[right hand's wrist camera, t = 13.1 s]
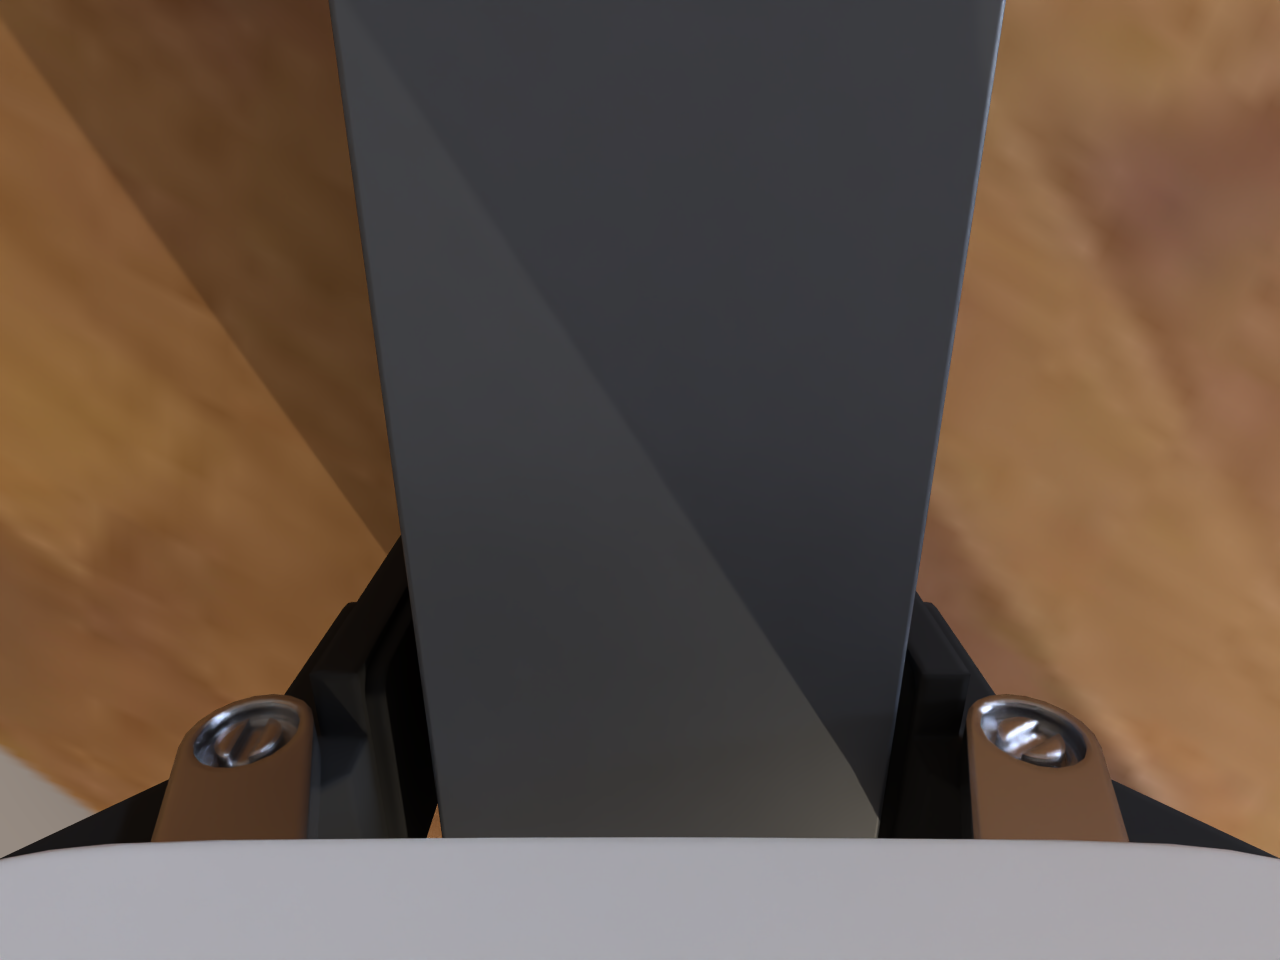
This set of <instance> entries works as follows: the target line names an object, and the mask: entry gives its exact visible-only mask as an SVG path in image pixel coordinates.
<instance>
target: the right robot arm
mask: <svg viewBox="0 0 1280 960" xmlns="http://www.w3.org/2000/svg"><path fill="white" fill-rule="evenodd" d="M437 804H438V802H437V794H436V787H435V780H434V772H433V765H432V758H431V750H430V743H429V735H428V728H427V721H426V713H425V706H424V699H423V691H422V684H421V677H420V669H419V662H418V655H417V647H416V640H415V632H414V625H413V618H412V610H411V603H410V596H409V588H408V581H407V574H406V566H405V559H404V552H403V544H402V537H401V536H400V537H399V539H398V540H397V542H396V543H395V545H394V546H393V548H392V549H391V551H390V552H389V554H388V555H387V557H386V558H385V560H384V561H383V563H382V565H381V566H380V568H379V569H378V571H377V572H376V574H375V575H374V577H373V578H372V580H371V581H370V583H369V584H368V586H367V587H366V589H365V590H364V592H363V593H362V595H361V596H360V598H359V599H358V601H357V602H351V603H348V604H347V605H346V606H345V607H344V608H343V609H342V611H341V612H340V614H339V615H338V617H337V618H336V620H335V621H334V623H333V624H332V626H331V627H330V628H329V630H328V631H327V633H326V634H325V636H324V637H323V639H322V640H321V642H320V643H319V645H318V646H317V648H316V649H315V651H314V652H313V653H312V655H311V656H310V658H309V659H308V661H307V662H306V664H305V665H304V667H303V668H302V670H301V671H300V673H299V674H298V676H297V677H296V678H295V680H294V681H293V683H292V684H291V686H290V687H289V689H288V690H287V692H286V693H285V695H277V694H270V695H261V696H253V697H250V698H246V699H243V700H239V701H235V702H233V703H230V704H228V705H226V706H224V707H222V708H219V709H217V710H215V711H213V712H212V713H210V714H209V715H207V716H206V717H204V718H203V719H201V720H200V721H198V722H197V723H196V724H195V725H194V726H193V727H192V728H191V729H190V730H189V731H188V732H187V733H186V734H185V736H184V738H183V740H182V742H181V744H180V745H179V747H178V751H177V754H176V757H175V761H174V764H173V768H172V771H171V774H170V778H169V780H166V781H164V782H162V783H160V784H158V785H156V786H154V787H152V788H149V789H147V790H145V791H143V792H141V793H139V794H137V795H135V796H132V797H130V798H128V799H126V800H124V801H122V802H120V803H117V804H115V805H113V806H111V807H109V808H107V809H105V810H103V811H100V812H98V813H96V814H94V815H92V816H90V817H88V818H86V819H83V820H81V821H79V822H77V823H75V824H73V825H71V826H68V827H66V828H64V829H62V830H60V831H58V832H56V833H54V834H51V835H49V836H47V837H45V838H43V839H41V840H39V841H37V842H34V843H32V844H30V845H28V846H26V847H24V848H22V849H19V850H17V851H15V852H13V853H11V854H9V855H7V856H5V857H2V858H0V960H1280V858H1278V857H1275V856H1273V855H1271V854H1269V853H1267V852H1265V851H1263V850H1261V849H1258V848H1256V847H1254V846H1252V845H1250V844H1248V843H1246V842H1243V841H1241V840H1239V839H1237V838H1235V837H1233V836H1231V835H1229V834H1226V833H1224V832H1222V831H1220V830H1218V829H1216V828H1214V827H1212V826H1209V825H1207V824H1205V823H1203V822H1201V821H1199V820H1197V819H1194V818H1192V817H1190V816H1188V815H1186V814H1184V813H1182V812H1180V811H1177V810H1175V809H1173V808H1171V807H1169V806H1167V805H1165V804H1163V803H1160V802H1158V801H1156V800H1154V799H1152V798H1150V797H1148V796H1146V795H1143V794H1141V793H1139V792H1137V791H1135V790H1133V789H1131V788H1128V787H1126V786H1124V785H1122V784H1120V783H1118V782H1116V781H1114V780H1111V778H1110V774H1109V771H1108V768H1107V764H1106V761H1105V757H1104V754H1103V751H1102V747H1101V745H1100V744H1099V742H1098V740H1097V738H1096V736H1095V734H1094V733H1093V732H1092V731H1091V730H1090V729H1089V728H1088V727H1087V726H1086V725H1085V724H1084V723H1083V722H1082V721H1080V720H1079V719H1077V718H1076V717H1074V716H1073V715H1071V714H1070V713H1068V712H1067V711H1065V710H1063V709H1061V708H1058V707H1056V706H1054V705H1052V704H1050V703H1047V702H1045V701H1041V700H1037V699H1034V698H1030V697H1027V696H1019V695H1010V694H1003V695H995V693H994V692H993V690H992V689H991V687H990V686H989V684H988V683H987V681H986V680H985V678H984V677H983V675H982V674H981V673H980V671H979V670H978V668H977V667H976V665H975V664H974V662H973V661H972V659H971V658H970V656H969V655H968V653H967V652H966V650H965V649H964V648H963V646H962V645H961V643H960V642H959V640H958V639H957V637H956V636H955V634H954V633H953V631H952V630H951V628H950V627H949V625H948V624H947V623H946V621H945V620H944V618H943V617H942V615H941V614H940V612H939V611H938V609H937V608H936V607H935V606H934V605H933V604H932V603H929V602H923V601H922V599H921V598H920V596H919V595H918V593H917V592H916V591H915V598H914V604H913V611H912V617H911V624H910V630H909V637H908V644H907V650H906V657H905V663H904V670H903V676H902V683H901V689H900V696H899V702H898V709H897V716H896V722H895V729H894V735H893V742H892V748H891V755H890V761H889V768H888V774H887V781H886V788H885V794H884V801H883V807H882V814H881V820H880V827H879V833H878V838H726V837H589V838H427V835H428V832H429V828H430V825H431V822H432V819H433V816H434V813H435V810H436V807H437Z"/></svg>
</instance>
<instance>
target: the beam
mask: <svg viewBox="0 0 1280 960" xmlns="http://www.w3.org/2000/svg"><path fill="white" fill-rule="evenodd" d="M1005 2H1006V0H329V7H330V15H331V22H332V29H333V37H334V44H335V51H336V59H337V66H338V74H339V81H340V88H341V96H342V103H343V110H344V118H345V125H346V132H347V140H348V147H349V154H350V162H351V169H352V177H353V184H354V191H355V199H356V206H357V213H358V221H359V228H360V235H361V243H362V250H363V257H364V265H365V272H366V279H367V287H368V294H369V302H370V309H371V316H372V324H373V331H374V338H375V346H376V353H377V360H378V368H379V375H380V382H381V390H382V397H383V405H384V412H385V419H386V427H387V434H388V441H389V449H390V456H391V463H392V471H393V478H394V485H395V493H396V500H397V507H398V515H399V522H400V530H401V537H402V544H403V552H404V559H405V566H406V574H407V581H408V588H409V596H410V603H411V610H412V618H413V625H414V632H415V640H416V647H417V655H418V662H419V669H420V677H421V684H422V691H423V699H424V706H425V713H426V721H427V728H428V735H429V743H430V750H431V758H432V765H433V772H434V780H435V787H436V794H437V802H438V809H439V816H440V824H441V831H442V838H589V837H726V838H878V833H879V827H880V820H881V814H882V807H883V801H884V794H885V788H886V781H887V774H888V768H889V761H890V755H891V748H892V742H893V735H894V729H895V722H896V716H897V709H898V702H899V696H900V689H901V683H902V676H903V670H904V663H905V657H906V650H907V644H908V637H909V630H910V624H911V617H912V611H913V604H914V598H915V591H916V585H917V578H918V572H919V565H920V558H921V552H922V545H923V539H924V532H925V526H926V519H927V513H928V506H929V500H930V493H931V486H932V480H933V473H934V467H935V460H936V454H937V447H938V441H939V434H940V428H941V421H942V414H943V408H944V401H945V395H946V388H947V382H948V375H949V369H950V362H951V356H952V349H953V342H954V336H955V329H956V323H957V316H958V310H959V303H960V297H961V290H962V284H963V277H964V270H965V264H966V257H967V251H968V244H969V238H970V231H971V225H972V218H973V212H974V205H975V198H976V192H977V185H978V179H979V172H980V166H981V159H982V153H983V146H984V140H985V133H986V126H987V120H988V113H989V107H990V100H991V94H992V87H993V81H994V74H995V67H996V61H997V54H998V48H999V41H1000V35H1001V28H1002V22H1003V15H1004V9H1005Z"/></svg>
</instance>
